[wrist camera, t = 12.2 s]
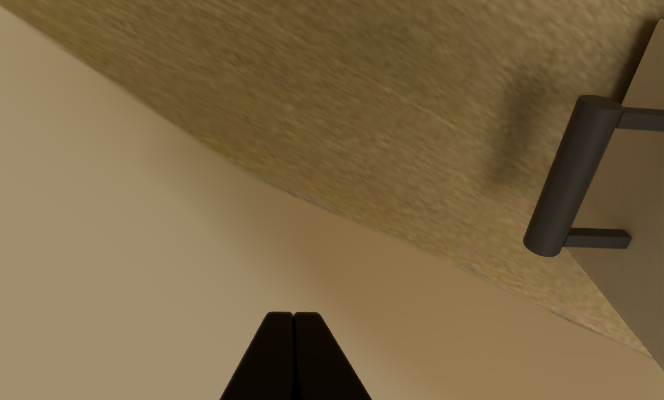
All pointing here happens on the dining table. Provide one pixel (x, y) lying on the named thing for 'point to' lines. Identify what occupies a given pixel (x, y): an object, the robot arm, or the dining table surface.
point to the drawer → (614, 198)
